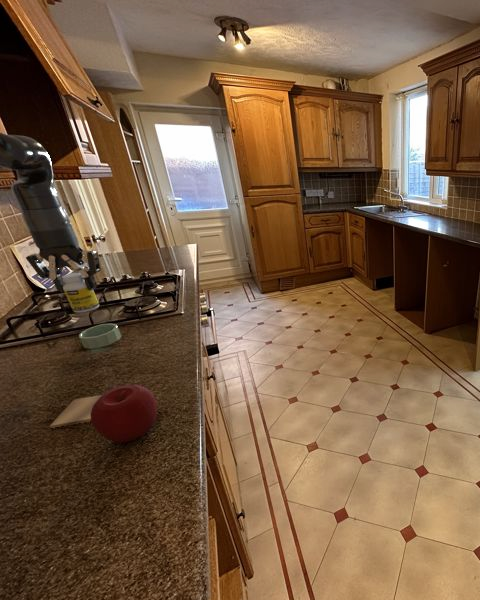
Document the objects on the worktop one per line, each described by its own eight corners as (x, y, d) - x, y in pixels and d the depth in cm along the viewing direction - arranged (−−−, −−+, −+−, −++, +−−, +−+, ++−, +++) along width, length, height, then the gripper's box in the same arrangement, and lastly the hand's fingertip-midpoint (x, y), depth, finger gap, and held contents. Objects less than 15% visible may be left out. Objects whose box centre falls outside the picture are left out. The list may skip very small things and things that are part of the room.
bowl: (79, 355, 89) (72, 340, 87) (96, 340, 96) (89, 325, 94) (114, 350, 91) (108, 335, 89) (128, 336, 98) (122, 321, 96)
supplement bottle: (72, 315, 84) (56, 280, 80) (74, 308, 88) (58, 274, 84) (100, 309, 87) (85, 275, 83) (100, 303, 91) (86, 270, 87)
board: (51, 428, 65) (49, 425, 65) (75, 402, 72) (73, 399, 72) (109, 418, 67) (108, 415, 67) (127, 393, 74) (126, 390, 74)
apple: (119, 461, 58) (96, 419, 54) (95, 440, 62) (73, 400, 58) (174, 425, 65) (158, 386, 61) (149, 409, 70) (133, 371, 66)
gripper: (94, 222, 83) (117, 282, 90) (25, 225, 80) (55, 288, 87) (76, 228, 77) (103, 293, 84) (0, 231, 73) (35, 299, 80)
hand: (78, 290), depth 85 cm, fingers closed on supplement bottle, 5 cm apart
